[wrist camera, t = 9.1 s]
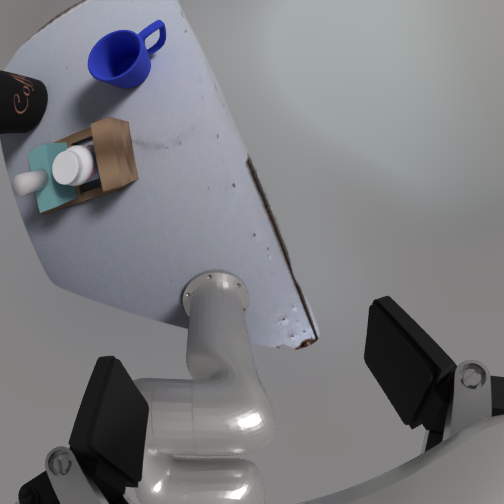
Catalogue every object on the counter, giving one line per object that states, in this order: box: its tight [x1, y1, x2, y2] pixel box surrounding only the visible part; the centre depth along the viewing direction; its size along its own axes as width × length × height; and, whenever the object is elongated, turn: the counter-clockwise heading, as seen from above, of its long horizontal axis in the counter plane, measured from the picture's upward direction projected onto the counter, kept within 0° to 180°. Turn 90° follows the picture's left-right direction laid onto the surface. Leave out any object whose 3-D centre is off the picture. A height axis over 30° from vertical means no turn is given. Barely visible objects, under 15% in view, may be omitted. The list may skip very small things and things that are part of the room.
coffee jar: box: [0, 71, 48, 134], centre depth 23 cm, size 11×11×18 cm
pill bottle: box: [52, 145, 100, 186], centre depth 33 cm, size 6×6×11 cm
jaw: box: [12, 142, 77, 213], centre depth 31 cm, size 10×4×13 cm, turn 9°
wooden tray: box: [41, 117, 139, 215], centre depth 34 cm, size 12×21×9 cm, turn 99°
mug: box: [88, 20, 166, 88], centre depth 29 cm, size 8×12×10 cm
